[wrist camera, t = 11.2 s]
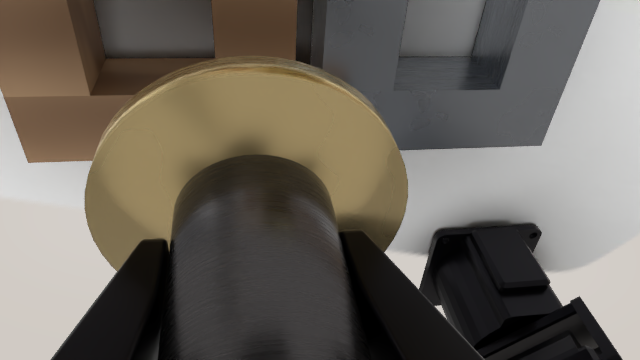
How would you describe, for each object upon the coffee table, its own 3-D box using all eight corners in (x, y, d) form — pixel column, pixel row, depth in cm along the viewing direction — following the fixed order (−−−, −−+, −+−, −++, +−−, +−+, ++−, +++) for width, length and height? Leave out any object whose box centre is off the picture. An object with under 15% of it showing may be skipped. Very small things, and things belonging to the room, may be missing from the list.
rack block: (285, 115, 23) (292, 153, 20) (49, 120, 21) (28, 162, 19) (291, -146, 17) (302, -133, 14) (-41, -166, 15) (-90, -154, 13)
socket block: (511, 110, 24) (541, 145, 22) (307, 114, 23) (316, 152, 21) (593, -129, 18) (646, -115, 16) (321, -145, 17) (336, -132, 14)
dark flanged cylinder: (350, 200, 15) (440, 504, 9) (137, 208, 14) (71, 558, 8) (383, -4, 11) (581, 279, 5) (94, -14, 10) (-99, 325, 4)
